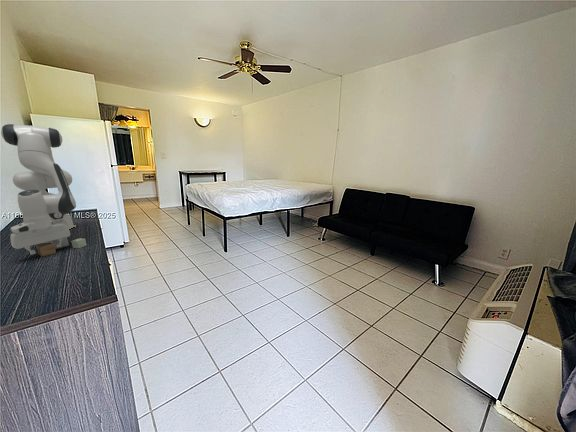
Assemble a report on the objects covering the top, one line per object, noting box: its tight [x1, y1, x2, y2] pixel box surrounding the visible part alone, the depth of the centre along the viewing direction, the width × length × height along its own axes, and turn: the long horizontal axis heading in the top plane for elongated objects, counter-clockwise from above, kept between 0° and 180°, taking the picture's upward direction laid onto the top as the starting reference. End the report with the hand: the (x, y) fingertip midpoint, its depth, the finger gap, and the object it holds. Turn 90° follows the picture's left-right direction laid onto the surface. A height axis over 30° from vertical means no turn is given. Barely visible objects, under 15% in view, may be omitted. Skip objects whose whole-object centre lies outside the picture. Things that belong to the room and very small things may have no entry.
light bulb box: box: [45, 237, 70, 250], centre depth 125 cm, size 11×7×11 cm, turn 62°
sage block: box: [71, 237, 87, 249], centre depth 124 cm, size 4×4×4 cm
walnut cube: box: [35, 242, 57, 257], centre depth 115 cm, size 5×5×5 cm
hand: (46, 250), depth 115 cm, fingers open, 8 cm apart
